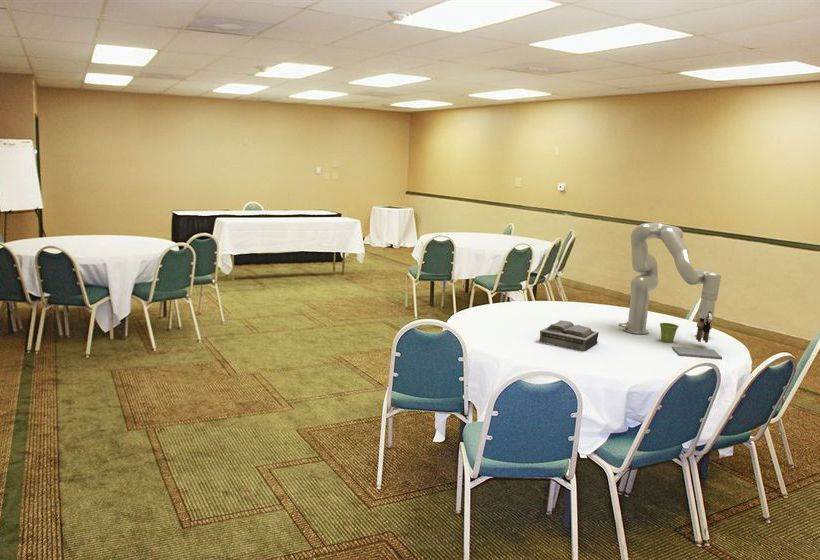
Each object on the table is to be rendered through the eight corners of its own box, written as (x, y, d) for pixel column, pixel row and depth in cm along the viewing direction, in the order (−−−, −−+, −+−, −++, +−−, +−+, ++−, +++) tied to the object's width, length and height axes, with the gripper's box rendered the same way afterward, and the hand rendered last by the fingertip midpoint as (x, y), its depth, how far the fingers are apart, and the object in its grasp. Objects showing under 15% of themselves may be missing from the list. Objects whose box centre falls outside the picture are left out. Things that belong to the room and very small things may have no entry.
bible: (558, 334, 350) (559, 316, 348) (604, 345, 331) (606, 326, 329) (533, 341, 333) (534, 322, 331) (580, 353, 315) (582, 334, 313)
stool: (696, 342, 334) (699, 323, 332) (692, 338, 340) (695, 320, 338) (710, 343, 333) (714, 325, 331) (706, 339, 339) (709, 321, 338)
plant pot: (676, 339, 348) (678, 324, 347) (677, 344, 339) (679, 328, 338) (657, 337, 351) (659, 321, 350) (658, 341, 342) (659, 325, 341)
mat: (678, 355, 319) (679, 353, 318) (672, 348, 331) (672, 346, 331) (721, 359, 316) (722, 357, 316) (713, 351, 329) (713, 349, 329)
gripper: (696, 292, 341) (691, 325, 344) (706, 299, 324) (700, 334, 327) (711, 293, 340) (706, 326, 343) (722, 301, 323) (716, 335, 326)
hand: (703, 329), depth 335 cm, fingers closed on stool, 7 cm apart
